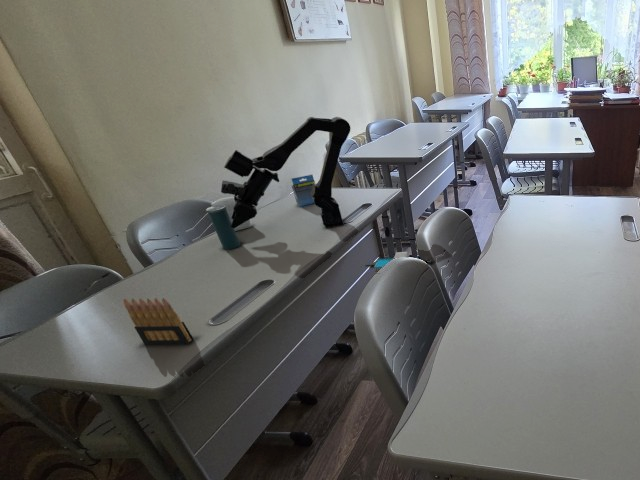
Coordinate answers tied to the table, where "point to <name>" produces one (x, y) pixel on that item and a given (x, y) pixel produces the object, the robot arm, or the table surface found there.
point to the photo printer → (231, 210)
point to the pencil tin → (223, 227)
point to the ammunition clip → (157, 323)
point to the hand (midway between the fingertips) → (232, 223)
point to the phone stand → (386, 261)
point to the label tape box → (303, 190)
